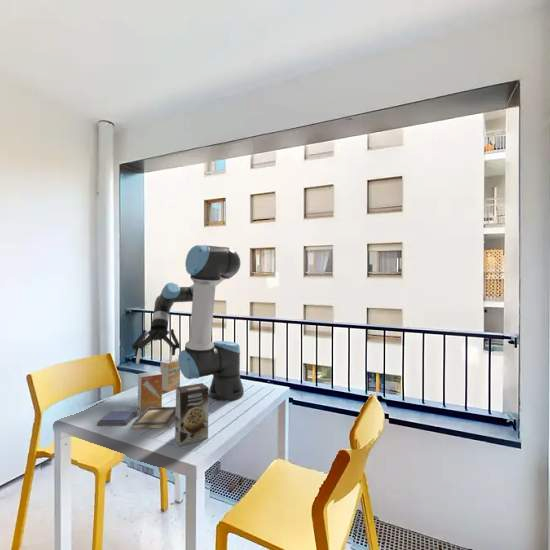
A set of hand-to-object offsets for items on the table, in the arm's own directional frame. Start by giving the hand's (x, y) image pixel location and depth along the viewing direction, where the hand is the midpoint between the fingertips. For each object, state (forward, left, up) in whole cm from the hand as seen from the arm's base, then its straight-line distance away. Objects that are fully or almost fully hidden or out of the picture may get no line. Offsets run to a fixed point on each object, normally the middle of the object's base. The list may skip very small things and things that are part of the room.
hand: (153, 362), depth 136 cm
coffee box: (-25, +36, -15) cm, 46 cm away
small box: (-2, +10, -15) cm, 18 cm away
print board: (-9, +22, -15) cm, 28 cm away
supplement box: (-4, -10, -15) cm, 19 cm away
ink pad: (+5, +22, -15) cm, 27 cm away
